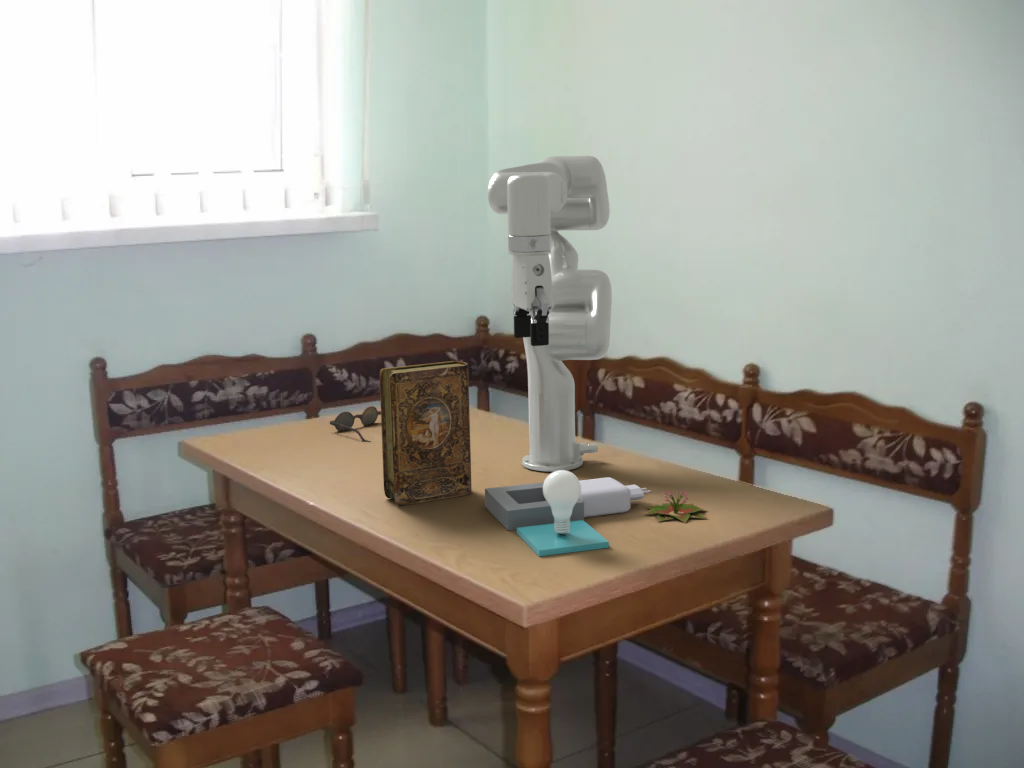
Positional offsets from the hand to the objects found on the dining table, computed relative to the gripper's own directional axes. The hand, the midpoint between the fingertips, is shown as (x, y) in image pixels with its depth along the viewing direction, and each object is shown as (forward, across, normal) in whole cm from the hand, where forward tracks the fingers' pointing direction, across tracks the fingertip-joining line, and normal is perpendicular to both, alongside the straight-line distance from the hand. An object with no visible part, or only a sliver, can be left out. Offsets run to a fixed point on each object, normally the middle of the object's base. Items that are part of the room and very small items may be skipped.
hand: (531, 341), depth 203 cm
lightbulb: (+30, -21, +2) cm, 36 cm away
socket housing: (+30, -6, +2) cm, 31 cm away
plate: (+30, -21, +2) cm, 37 cm away
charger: (+31, -7, -13) cm, 34 cm away
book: (+31, +11, +17) cm, 37 cm away
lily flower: (+31, -14, -22) cm, 41 cm away
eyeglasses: (+31, +66, +18) cm, 75 cm away
